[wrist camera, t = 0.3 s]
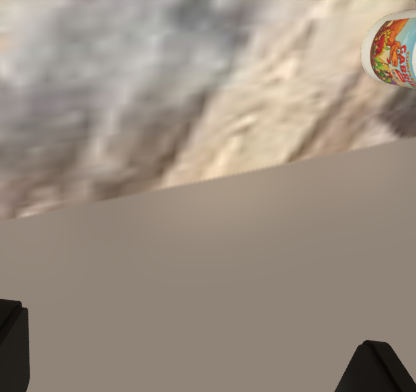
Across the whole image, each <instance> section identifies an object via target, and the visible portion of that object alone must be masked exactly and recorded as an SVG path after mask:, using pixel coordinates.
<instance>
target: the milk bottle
mask: <svg viewBox="0 0 416 392" xmlns="http://www.w3.org/2000/svg"><path fill="white" fill-rule="evenodd" d="M361 62H362V65H363V68H364V70H365V71H366V73H367V74H368V75H369V76H370V77H371V78H373V79H374V80H377V81H380V82H384V83H389V84H394V85H399V86H404V87H409V88H415V89H416V9H415V10H409V11H402V12H397V13H393V14H389V15H387V16H385V17H383V18H381V19H380V20H379V21H377V22H376V23H375V24H374V25H373V26H372V27H371V29H370V30H369V31H368V33H367V35H366V36H365V39H364V41H363V44H362V48H361Z"/></svg>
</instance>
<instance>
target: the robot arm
mask: <svg viewBox="0 0 416 392" xmlns="http://www.w3.org/2000/svg"><path fill="white" fill-rule="evenodd" d="M29 379H30V366H29V328H28V309H27V308H23V307H22V303H21V302H20V301H13V300H5V299H0V392H26V390H27V387H28V384H29ZM335 392H416V384H415V382H414V381H413V379H412V377H411V376H410V375H409V373H408V372H407V370H406V368H405V367H404V365H403V364H402V363H401V361H400V359H399V358H398V356H397V355H396V353H395V352H394V351H393V349H392V347H391V346H390V345H389V344H388V343H386V342H379V341H370V340H366V341H364V342H363V343H362V345H359V346H358V347H357V349H356V351H355V353H354V355H353V357H352V359H351V361H350V363H349V365H348V367H347V368H346V371H345V372H344V374H343V376H342V378H341V380H340V382H339V384H338V386H337V388H336V390H335Z"/></svg>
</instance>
